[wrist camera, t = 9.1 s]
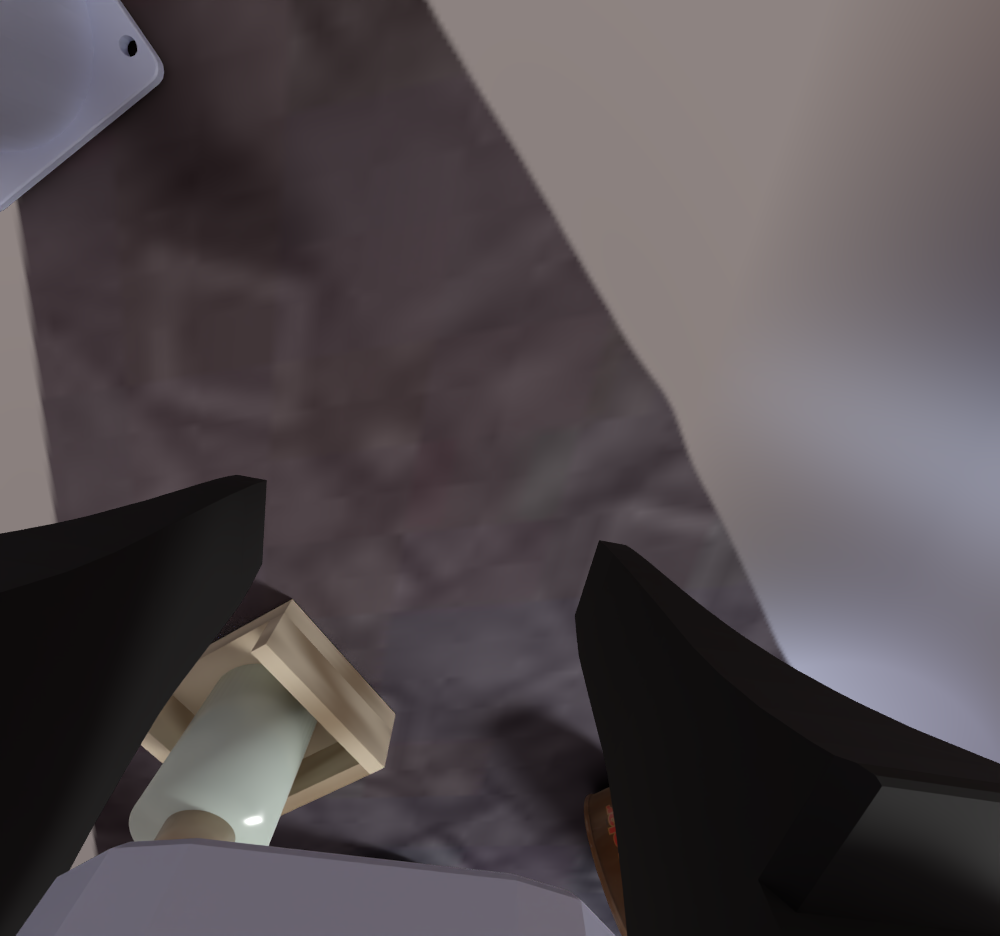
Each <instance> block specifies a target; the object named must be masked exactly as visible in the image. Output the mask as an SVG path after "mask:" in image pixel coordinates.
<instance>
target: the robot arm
mask: <svg viewBox="0 0 1000 936" xmlns="http://www.w3.org/2000/svg"><path fill="white" fill-rule="evenodd" d="M133 40H135V42H136V44H137V53H136V54H135V55H134V56H132V57H130V55H129V53H128V44H129V43H130V42H131V41H133ZM163 76H164V68H163V64H162V62H161V60H160V58H159V56H158V55H157V53H156V52H155V50H154V49H153V47H152V46H151V44H150V43H149V41H148V40H147V39H146V37H145V36H144V34H143V33H142V31H141V30H140V28H139V27H138V25H137V24H136V23H135V21H134V20H133V18H132V17H131V15H130V14H129V12H128V11H127V9H126V8H125V6H124V5H123V4H122V2H121V1H120V0H0V212H1V211H3V210H5V209H6V208H7V207H8V206H10V205H11V204H12V203H13V202H14V201H16V200H17V199H18V198H19V197H21V196H22V195H23V194H24V193H26V192H27V191H28V190H29V189H30V188H32V187H33V186H34V185H35V184H37V183H38V182H39V181H40V180H42V179H43V178H44V177H45V176H47V175H48V174H49V173H50V172H51V171H53V170H54V169H55V168H56V167H58V166H59V165H60V164H61V163H63V162H64V161H65V160H66V159H67V158H69V157H70V156H71V155H72V154H74V153H75V152H76V151H77V150H79V149H80V148H81V147H82V146H83V145H85V144H86V143H87V142H88V141H90V140H91V139H92V138H93V137H95V136H96V135H97V134H98V133H99V132H101V131H102V130H103V129H104V128H106V127H107V126H108V125H109V124H111V123H112V122H113V121H114V120H116V119H117V118H118V117H119V116H120V115H122V114H123V113H124V112H125V111H127V110H128V109H129V108H130V107H132V106H133V105H134V104H135V103H136V102H138V101H139V100H140V99H141V98H143V97H144V96H145V95H146V94H148V93H149V92H150V91H151V90H152V89H154V88H155V87H156V86H157V85H159V84H160V82H161V81H162V80H163ZM266 483H267V480H262V479H257V478H251V477H246V476H240V475H233V476H227V477H223V478H219V479H215V480H212V481H208V482H205V483H201V484H198V485H195V486H191V487H188V488H185V489H182V490H178V491H175V492H172V493H169V494H165V495H162V496H159V497H155V498H152V499H149V500H146V501H142V502H138V503H135V504H131V505H127V506H123V507H120V508H116V509H112V510H109V511H105V512H101V513H98V514H94V515H90V516H86V517H82V518H77V519H73V520H69V521H64V522H60V523H55V524H50V525H45V526H39V527H34V528H29V529H24V530H19V531H13V532H7V533H2V534H0V936H615V935H614V934H613V933H612V932H611V931H610V930H609V928H608V927H607V926H606V925H605V924H604V923H603V922H602V921H601V920H600V919H599V918H598V917H597V916H596V915H595V914H594V913H593V912H592V911H591V910H590V909H589V908H588V907H587V906H586V905H585V904H584V903H583V902H582V901H581V900H580V899H579V898H578V897H576V896H575V895H574V894H572V893H571V892H570V891H567V890H564V889H561V888H558V887H554V886H551V885H548V884H545V883H541V882H538V881H535V880H531V879H528V878H525V877H522V876H518V875H515V874H510V873H501V872H493V871H484V870H475V869H466V868H457V867H449V866H440V865H431V864H422V863H413V862H405V861H396V860H387V859H378V858H369V857H361V856H352V855H343V854H334V853H325V852H317V851H308V850H299V849H290V848H281V847H273V846H264V845H255V844H246V843H238V842H229V841H220V840H211V839H202V838H189V839H172V840H154V841H136V842H128V843H125V844H122V845H119V846H116V847H113V848H110V849H108V850H107V851H105V852H103V853H101V854H99V855H97V856H95V857H94V858H92V859H90V860H88V861H86V862H84V863H82V864H81V865H79V866H77V867H75V868H73V869H71V870H70V868H71V866H72V864H73V862H74V861H75V859H76V857H77V855H78V853H79V851H80V850H81V847H82V846H83V844H84V842H85V840H86V839H87V837H88V835H89V833H90V831H91V829H92V827H93V826H94V824H95V822H96V820H97V819H98V817H99V815H100V813H101V812H102V810H103V808H104V806H105V805H106V803H107V801H108V799H109V798H110V796H111V794H112V792H113V791H114V789H115V787H116V786H117V784H118V782H119V780H120V779H121V777H122V775H123V773H124V772H125V770H126V768H127V766H128V765H129V763H130V761H131V760H132V758H133V756H134V755H135V753H136V751H137V750H138V748H139V746H140V745H141V743H142V741H143V740H144V738H145V737H146V735H147V733H148V732H149V730H150V728H151V727H152V725H153V723H154V722H155V720H156V718H157V717H158V715H159V713H160V712H161V711H162V709H163V708H164V706H165V705H166V703H167V702H168V700H169V699H170V698H171V696H172V695H173V693H174V692H175V690H176V689H177V688H178V686H179V685H180V684H181V682H182V681H183V680H184V678H185V677H186V676H187V674H188V673H189V672H190V671H191V669H192V668H193V667H194V665H195V664H196V663H197V661H198V660H199V659H200V657H201V656H202V655H203V653H204V652H205V651H206V649H207V648H208V647H209V645H210V644H211V643H212V641H213V640H214V639H215V637H216V636H217V635H218V633H219V632H220V631H221V629H222V628H223V627H224V625H225V624H226V623H227V621H228V620H229V619H230V617H231V616H232V615H233V613H234V612H235V610H236V609H237V608H238V606H239V605H240V603H241V602H242V600H243V598H244V597H245V595H246V593H247V591H248V590H249V588H250V586H251V584H252V582H253V580H254V578H255V577H256V575H257V573H258V571H259V569H260V567H261V565H262V557H263V538H264V520H265V501H266ZM575 622H576V633H577V643H578V652H579V658H580V662H581V667H582V671H583V675H584V679H585V683H586V687H587V691H588V695H589V699H590V703H591V707H592V711H593V715H594V719H595V723H596V727H597V731H598V735H599V738H600V742H601V746H602V750H603V755H604V760H605V765H606V769H607V774H608V781H609V788H610V795H611V802H612V809H613V815H614V822H615V830H616V838H617V846H618V854H619V863H620V871H621V879H622V888H623V898H624V908H625V918H626V928H627V936H1000V764H999V763H997V762H994V761H992V760H989V759H987V758H984V757H982V756H980V755H977V754H975V753H972V752H970V751H967V750H965V749H962V748H960V747H957V746H955V745H953V744H950V743H948V742H945V741H943V740H940V739H938V738H935V737H933V736H930V735H928V734H926V733H923V732H921V731H918V730H916V729H914V728H911V727H909V726H907V725H905V724H902V723H900V722H898V721H896V720H894V719H892V718H890V717H887V716H885V715H883V714H881V713H879V712H877V711H875V710H873V709H870V708H868V707H866V706H864V705H862V704H860V703H858V702H856V701H854V700H852V699H850V698H848V697H846V696H844V695H842V694H840V693H838V692H836V691H834V690H832V689H831V688H829V687H827V686H825V685H823V684H822V683H820V682H818V681H816V680H814V679H812V678H811V677H809V676H807V675H805V674H803V673H802V672H800V671H798V670H796V669H795V668H793V667H791V666H789V665H788V664H786V663H784V662H783V661H781V660H779V659H778V658H776V657H775V656H773V655H771V654H770V653H768V652H767V651H765V650H764V649H762V648H761V647H759V646H757V645H756V644H754V643H753V642H751V641H750V640H748V639H747V638H745V637H744V636H742V635H741V634H739V633H738V632H736V631H735V630H734V629H732V628H731V627H729V626H728V625H727V624H725V623H724V622H723V621H721V620H720V619H719V618H717V617H716V616H715V615H713V614H712V613H711V612H709V611H708V610H707V609H705V608H704V607H703V606H702V605H700V604H699V603H698V602H696V601H695V600H694V599H693V598H691V597H690V596H689V595H688V594H687V593H685V592H684V591H683V590H682V589H680V588H679V587H678V586H677V585H676V584H674V583H673V582H672V581H671V580H670V579H668V578H667V577H666V576H665V575H664V574H662V573H661V572H660V571H659V570H658V569H657V568H655V567H654V566H653V565H652V564H651V563H649V562H648V561H647V560H646V559H644V558H643V557H642V556H641V555H639V554H638V553H637V552H635V551H634V550H633V549H631V548H630V547H628V546H626V545H622V544H617V543H611V542H606V541H600V540H599V543H598V546H597V549H596V552H595V555H594V558H593V561H592V564H591V567H590V570H589V574H588V577H587V580H586V583H585V586H584V589H583V592H582V595H581V598H580V602H579V605H578V608H577V611H576V614H575Z"/></svg>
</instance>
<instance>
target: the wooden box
mask: <svg viewBox="0 0 1000 936" xmlns="http://www.w3.org/2000/svg"><path fill="white" fill-rule="evenodd" d="M247 664H262V665H263V666H264V667H265V668H266V669H267V670H268V671H269V672H270V673H271V674H272V675H273V676H274V677H275V678H276V679H277V680H278V681H279V682H280V683H281V684H282V685H283V686H284V687H285V688H286V689H287V690H288V691H289V692H290V693H291V694H292V695H293V696H294V697H295V698H296V699H297V700H298V701H299V702H300V703H301V704H302V705H303V706H304V707H305V708H306V709H307V710H308V712H309V713H310V714H311V715H312V716H313V717H314V718H315V719H316V720H317V724H316V726H315V729H314V731H313V734H312V736H311V739H310V742H309V744H308V747H307V749H306V752H305V754H304V757H303V759H302V762H301V765H300V767H299V770H298V772H297V775H296V777H295V780H294V782H293V785H292V788H291V790H290V793H289V795H288V798H287V800H286V803H285V805H284V808H283V811H282V813H281V815H283V814H285V813H288V812H290V811H292V810H294V809H296V808H298V807H300V806H303V805H305V804H307V803H309V802H311V801H313V800H316V799H318V798H320V797H322V796H324V795H326V794H329V793H331V792H333V791H335V790H337V789H339V788H341V787H344V786H346V785H348V784H350V783H352V782H354V781H357V780H359V779H361V778H363V777H365V776H367V775H369V774H372V773H374V772H376V771H378V770H380V769H382V768H384V767H385V762H386V757H387V752H388V748H389V743H390V738H391V733H392V728H393V723H394V719H395V713H394V712H393V711H392V710H391V709H390V708H389V707H388V705H387V704H386V703H385V702H384V701H383V700H382V699H381V698H380V696H379V695H378V694H377V693H376V692H375V691H374V690H373V689H372V688H371V686H370V685H369V684H368V683H367V682H366V681H365V680H364V679H363V678H362V676H361V675H360V674H359V673H358V672H357V671H356V670H355V669H354V667H353V666H352V665H351V664H350V663H349V662H348V661H347V660H346V659H345V657H344V656H343V655H342V654H341V653H340V652H339V651H338V650H337V649H336V647H335V646H334V645H333V644H332V643H331V642H330V641H329V640H328V638H327V637H326V636H325V635H324V634H323V633H322V632H321V631H320V630H319V628H318V627H317V626H316V625H315V624H314V623H313V622H312V621H311V620H310V618H309V617H308V616H307V615H306V614H305V613H304V612H303V611H302V609H301V608H300V607H299V606H298V605H297V604H296V603H295V602H294V601H293V599H292V600H290V601H288V602H286V603H284V604H283V605H281V606H279V607H277V608H275V609H273V610H272V611H270V612H268V613H266V614H264V615H263V616H261V617H259V618H257V619H255V620H254V621H252V622H250V623H248V624H246V625H244V626H243V627H241V628H239V629H237V630H235V631H234V632H232V633H230V634H228V635H226V636H225V637H223V638H221V639H219V640H217V641H215V642H214V643H212V644H210V645H209V647H208V648H207V649H206V651H205V652H204V653H203V655H202V656H201V657H200V659H199V660H198V661H197V663H196V664H195V665H194V667H193V668H192V669H191V671H190V672H189V673H188V674H187V676H186V677H185V678H184V680H183V681H182V682H181V684H180V685H179V686H178V688H177V689H176V690H175V692H174V693H173V695H172V696H171V698H170V699H169V700H168V702H167V703H166V705H165V706H164V708H163V709H162V711H161V712H160V713H159V715H158V717H157V718H156V720H155V722H154V723H153V725H152V727H151V728H150V730H149V732H148V733H147V735H146V737H145V738H144V740H143V741H142V743H141V745H142V746H143V747H144V748H145V749H146V750H148V751H149V752H150V753H151V754H152V755H153V756H155V757H156V758H157V759H158V760H159V761H161V762H162V763H164V761H165V760H166V758H167V757H168V755H169V754H170V752H171V751H172V749H173V748H174V746H175V745H176V743H177V742H178V740H179V739H180V737H181V736H182V734H183V733H184V731H185V730H186V728H187V727H188V725H189V724H190V722H191V721H192V719H193V718H194V716H195V715H196V713H197V712H198V710H199V709H200V707H201V706H202V704H203V703H204V701H205V700H206V698H207V697H208V695H209V694H210V692H211V691H212V689H213V688H214V686H215V685H216V683H217V682H218V681H219V679H220V678H221V677H222V676H223V675H224V674H226V673H227V672H228V671H230V670H232V669H234V668H236V667H239V666H242V665H247Z"/></svg>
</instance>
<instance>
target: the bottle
mask: <svg viewBox="0 0 1000 936" xmlns="http://www.w3.org/2000/svg"><path fill="white" fill-rule="evenodd" d="M316 724H317V720H316V719H315V718H314V717H313V716H312V715H311V714H310V713H309V712H308V710H307V709H306V708H305V707H304V706H303V705H302V704H301V703H300V702H299V701H298V700H297V699H296V698H295V697H294V696H293V695H292V694H291V693H290V692H289V691H288V690H287V689H286V688H285V687H284V686H283V685H282V684H281V683H280V682H279V681H278V680H277V679H276V678H275V677H274V676H273V675H272V674H271V673H270V672H269V671H268V670H267V669H266V668H265V667H264V666H263V665H262V664H247V665H242V666H239V667H236V668H234V669H232V670H230V671H228V672H227V673H226V674H224V675H223V676H222V677H221V678H220V679H219V681H218V682H217V683H216V685H215V686H214V688H213V689H212V691H211V692H210V694H209V695H208V697H207V698H206V700H205V701H204V703H203V704H202V706H201V707H200V709H199V710H198V712H197V713H196V715H195V716H194V718H193V719H192V721H191V722H190V724H189V725H188V727H187V728H186V730H185V731H184V733H183V734H182V736H181V737H180V739H179V740H178V742H177V743H176V745H175V746H174V748H173V749H172V751H171V752H170V754H169V755H168V757H167V758H166V760H165V761H164V763H163V764H162V766H161V767H160V769H159V770H158V772H157V773H156V775H155V776H154V778H153V779H152V781H151V782H150V784H149V785H148V787H147V788H146V790H145V791H144V792H143V794H142V795H141V797H140V798H139V800H138V801H137V803H136V804H135V806H134V807H133V809H132V811H131V813H130V817H129V829H130V833H131V836H132V838H133V840H134V842H136V841H154V840H172V839H189V838H202V839H211V840H220V841H229V842H238V843H246V844H255V845H264V846H269V844H270V841H271V839H272V836H273V834H274V831H275V828H276V826H277V823H278V821H279V818H280V816H281V813H282V811H283V808H284V805H285V803H286V800H287V798H288V795H289V793H290V790H291V788H292V785H293V782H294V780H295V777H296V775H297V772H298V770H299V767H300V765H301V762H302V759H303V757H304V754H305V752H306V749H307V747H308V744H309V742H310V739H311V736H312V734H313V731H314V729H315V726H316Z"/></svg>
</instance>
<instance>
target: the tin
mask: <svg viewBox="0 0 1000 936" xmlns="http://www.w3.org/2000/svg"><path fill="white" fill-rule="evenodd" d="M584 819H585V826H586V831H587V837H588V841H589V845H590V849H591V852H592V856H593V859H594V863H595V867H596V870H597V873H598V876H599V879H600V881H601V885H602V888H603V890H604V893H605V896H606V898H607V901H608V904H609V907H610V909H611V912H612V914H613V917H614V920H615V922H616V924H617V926H618V929H619V931H620V933H621V935H622V936H627V928H626V918H625V908H624V898H623V888H622V879H621V871H620V863H619V854H618V846H617V838H616V830H615V822H614V815H613V809H612V802H611V795H610V788H609V787H608V788H606V789H604V790H602V791H600V792H598V793H595V794H588V795H587V796H586V798H585V800H584Z"/></svg>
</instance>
